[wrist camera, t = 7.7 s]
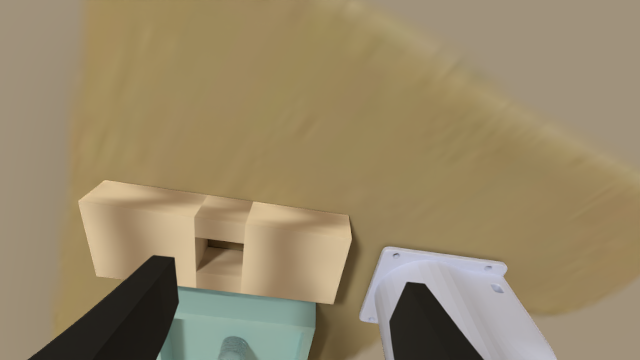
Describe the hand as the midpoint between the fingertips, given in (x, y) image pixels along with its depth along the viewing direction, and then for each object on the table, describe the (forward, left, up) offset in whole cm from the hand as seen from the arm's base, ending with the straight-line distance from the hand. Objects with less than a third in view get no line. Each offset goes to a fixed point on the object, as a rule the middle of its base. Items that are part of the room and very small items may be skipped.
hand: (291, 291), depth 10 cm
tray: (+3, +19, -10) cm, 22 cm away
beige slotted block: (+4, +7, -10) cm, 13 cm away
